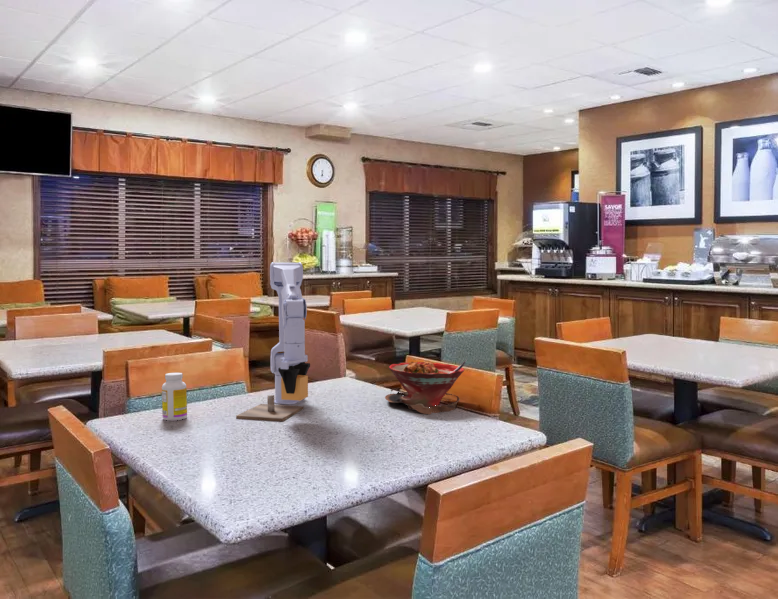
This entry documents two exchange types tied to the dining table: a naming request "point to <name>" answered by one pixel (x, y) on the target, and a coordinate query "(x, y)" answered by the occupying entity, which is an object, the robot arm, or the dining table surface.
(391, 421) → the dining table surface
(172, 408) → the supplement bottle
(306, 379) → the orange hollow cube
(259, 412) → the wooden board with peg
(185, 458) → the dining table surface
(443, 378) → the stew
